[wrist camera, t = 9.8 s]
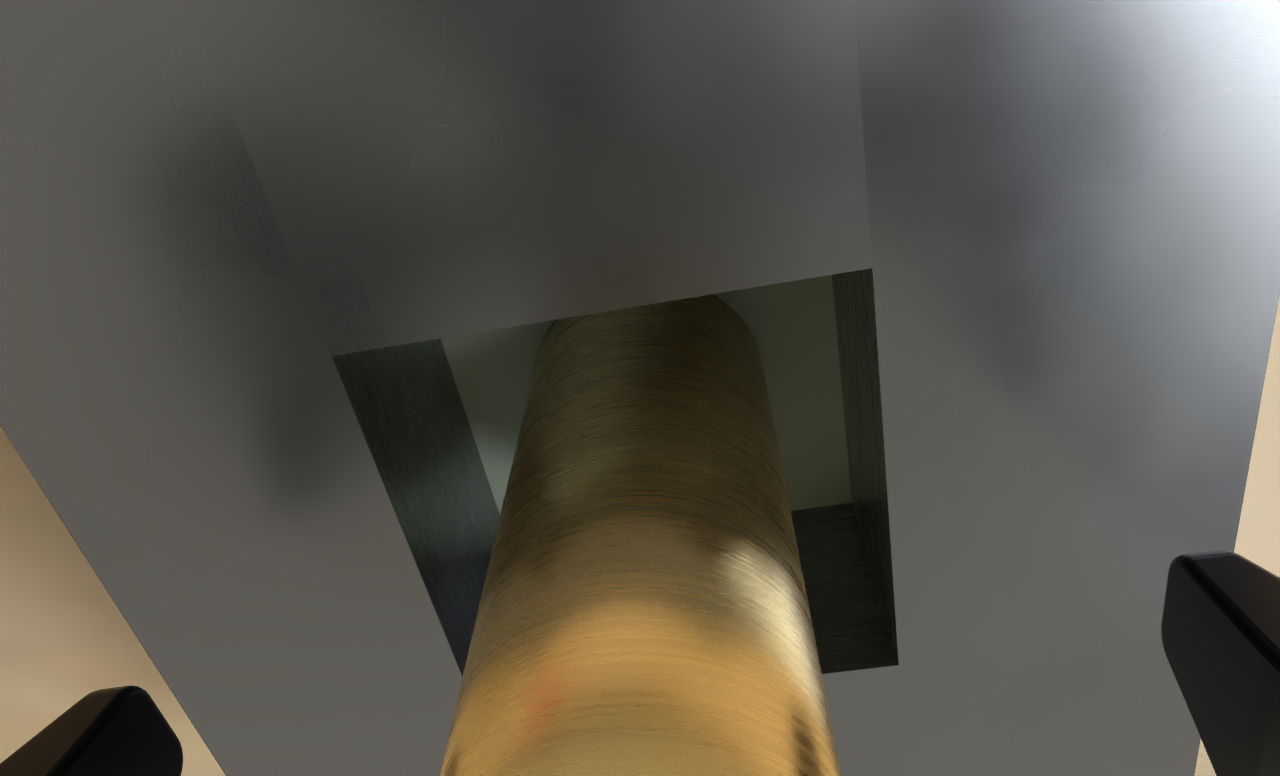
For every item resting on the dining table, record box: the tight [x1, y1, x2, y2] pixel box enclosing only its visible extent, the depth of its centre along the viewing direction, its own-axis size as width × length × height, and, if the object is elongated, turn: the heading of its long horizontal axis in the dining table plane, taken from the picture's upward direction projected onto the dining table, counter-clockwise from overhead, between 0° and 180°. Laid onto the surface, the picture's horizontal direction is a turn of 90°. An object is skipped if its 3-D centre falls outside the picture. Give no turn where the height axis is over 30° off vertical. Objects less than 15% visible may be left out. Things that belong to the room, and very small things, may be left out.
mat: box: [441, 275, 852, 514], centre depth 15 cm, size 21×15×1 cm
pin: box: [440, 294, 841, 776], centre depth 8 cm, size 3×3×10 cm
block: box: [0, 0, 1280, 776], centre depth 11 cm, size 12×12×3 cm
